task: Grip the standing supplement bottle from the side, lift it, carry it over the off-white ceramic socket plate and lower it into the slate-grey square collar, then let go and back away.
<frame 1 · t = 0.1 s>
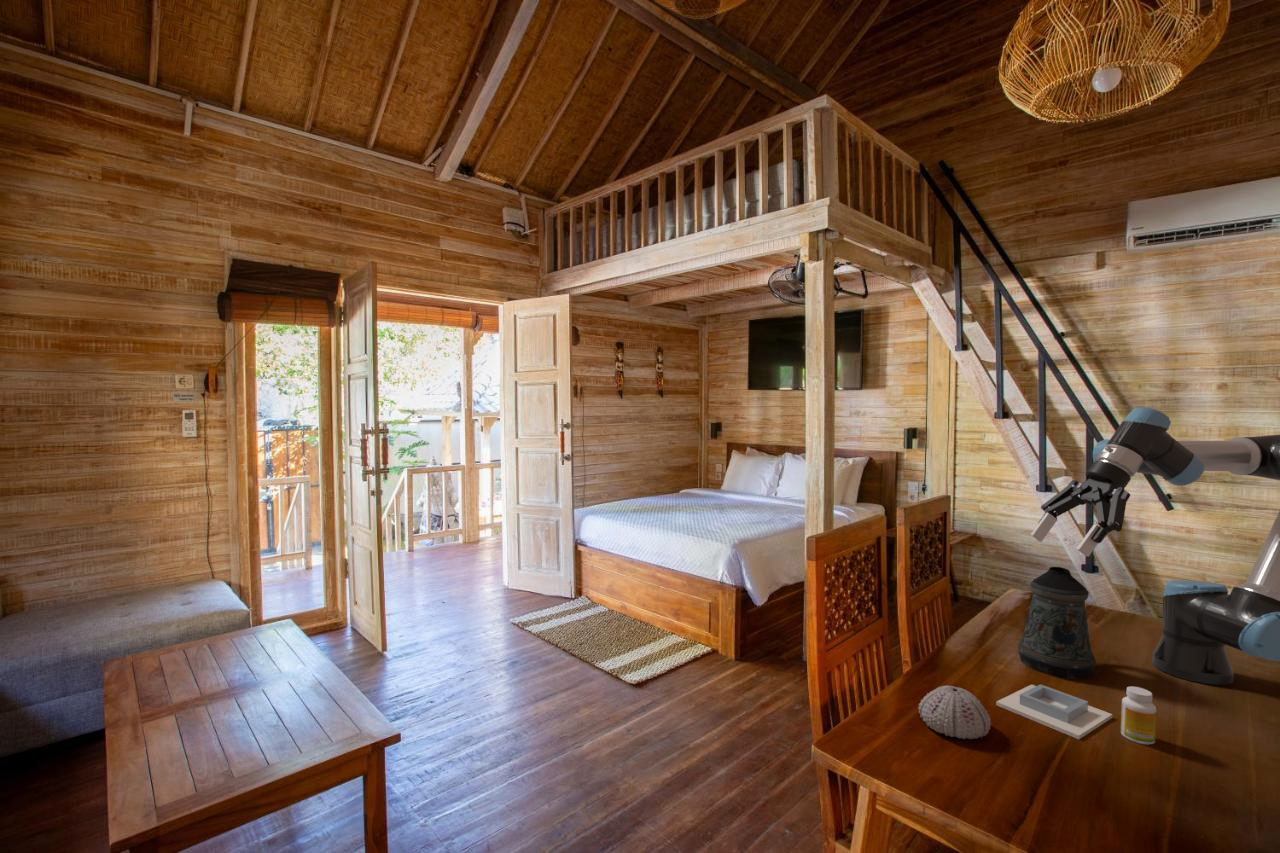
hand: (1057, 545, 134), 36 cm above the table, tool tilted 35°, fingers open, 13 cm apart
sea urchin shell: (953, 728, 124), on the table
supplement bottle: (1137, 739, 120), on the table
socket: (1053, 711, 131), on the table
beer stein: (1052, 663, 156), on the table
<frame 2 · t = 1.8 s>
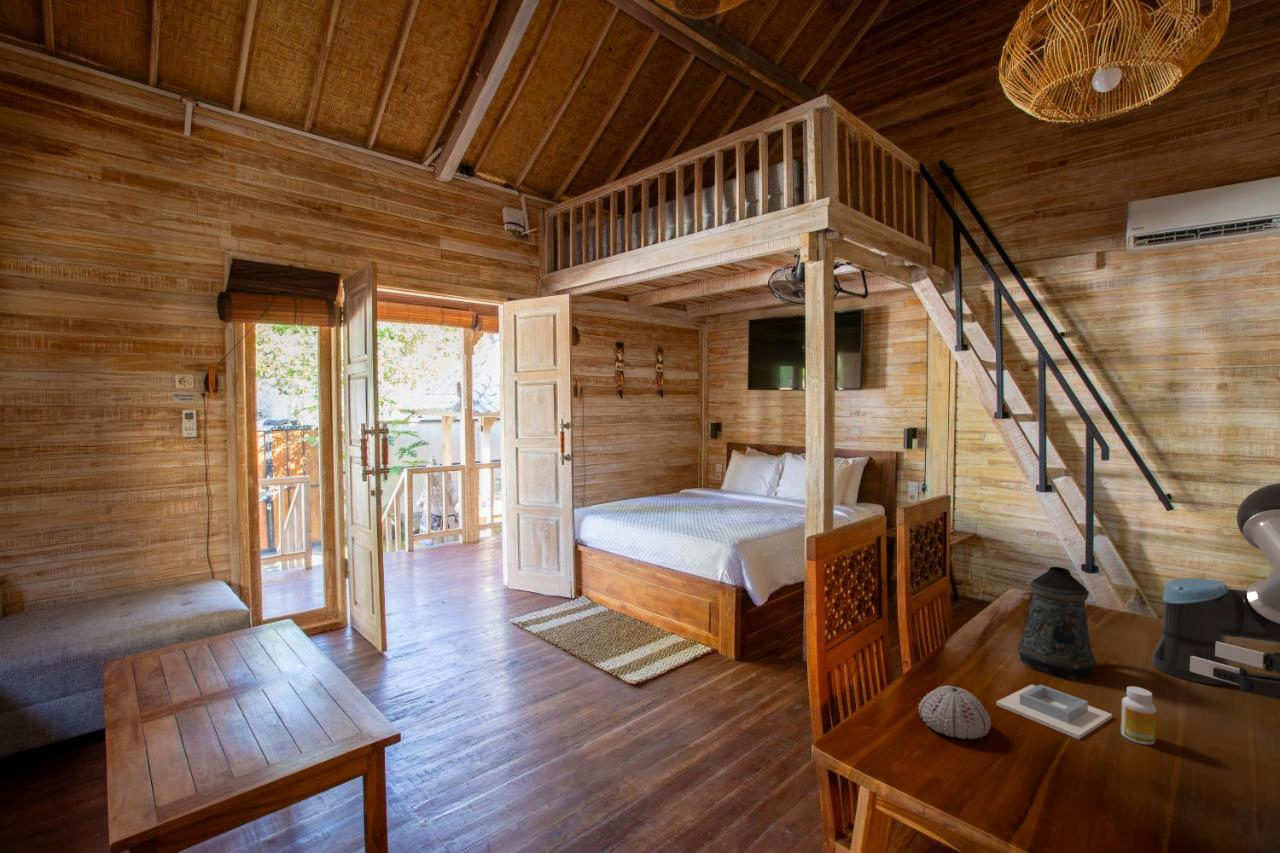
hand: (1203, 655, 112), 20 cm above the table, tool horizontal, fingers open, 13 cm apart
nothing on the table moved.
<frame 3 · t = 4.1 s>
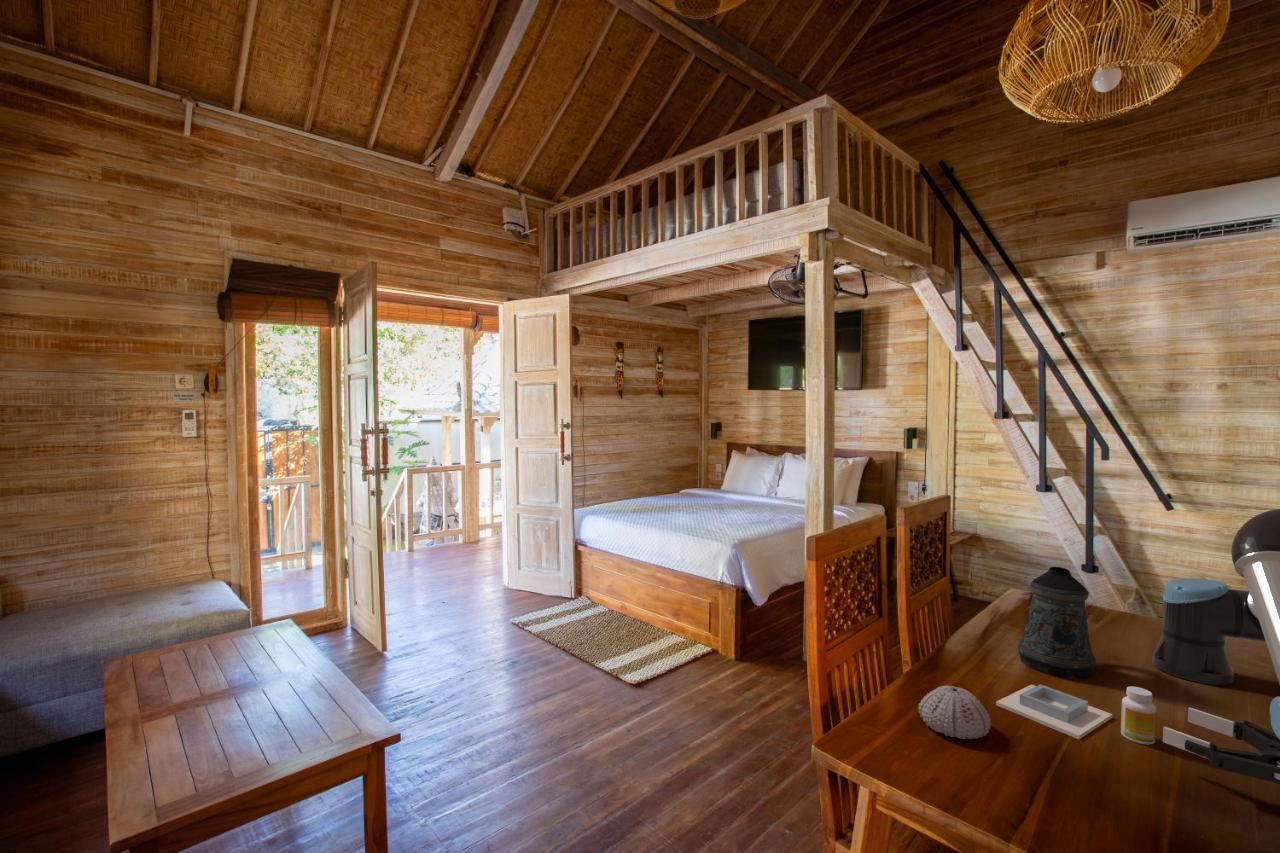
hand: (1176, 723, 115), 6 cm above the table, tool horizontal, fingers open, 13 cm apart
nothing on the table moved.
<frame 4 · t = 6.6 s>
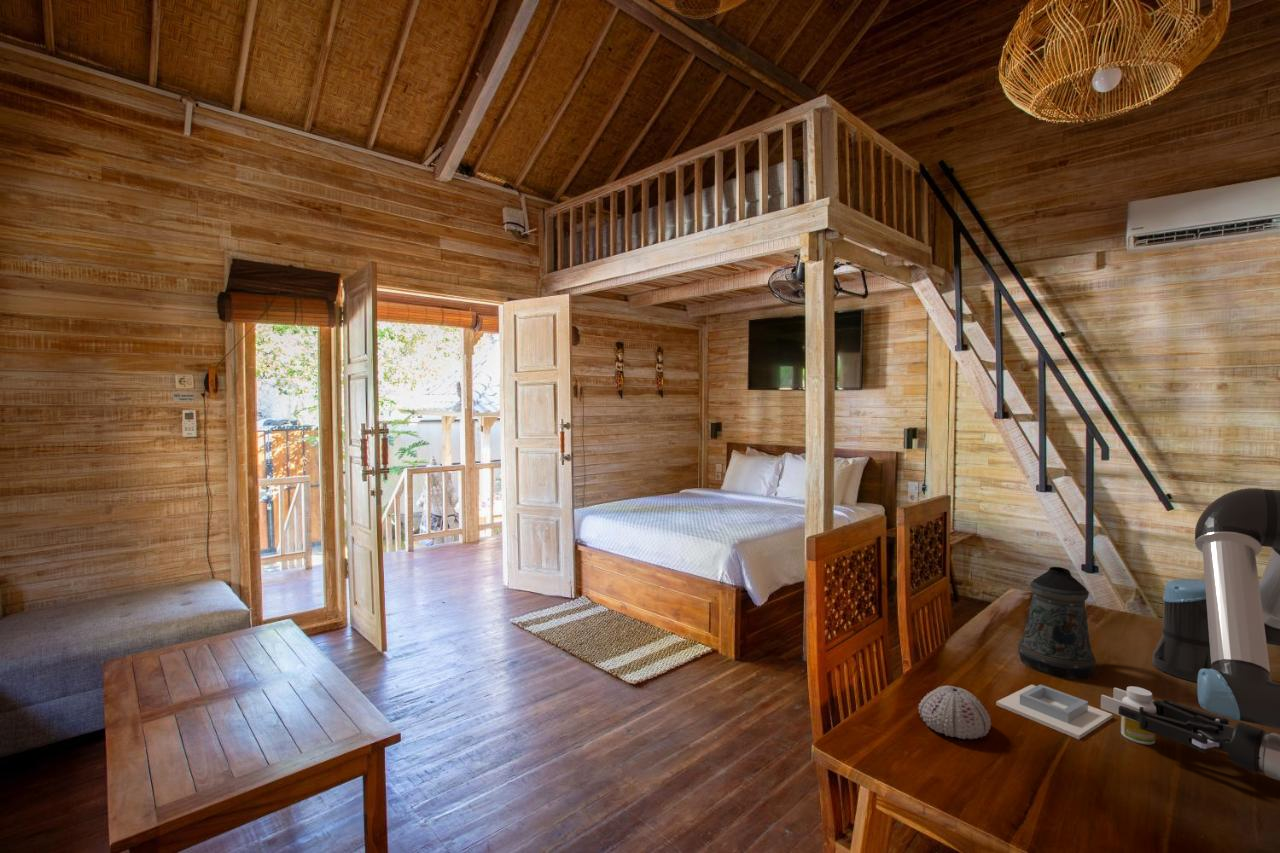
hand: (1108, 697, 125), 6 cm above the table, tool horizontal, fingers closed on supplement bottle, 5 cm apart
supplement bottle: (1137, 738, 120), on the table, touching gripper
everything else where it was.
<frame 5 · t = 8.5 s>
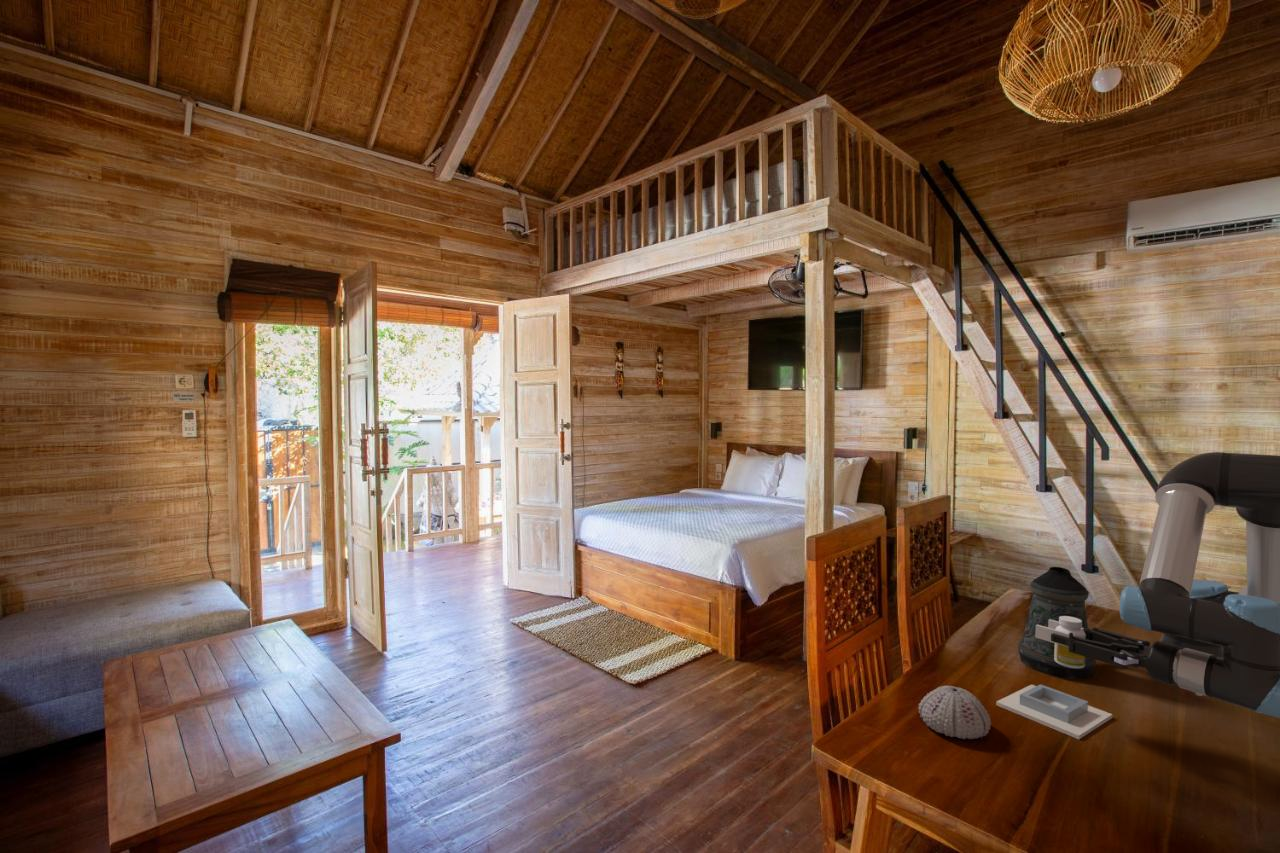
hand: (1042, 628, 132), 18 cm above the table, tool horizontal, fingers closed on supplement bottle, 5 cm apart
supplement bottle: (1069, 664, 128), point 12 cm above the table, touching gripper
everything else where it was.
when the fingers open (8 cm above the table, at t = 10.8 s): supplement bottle drops 1 cm, resting on socket.
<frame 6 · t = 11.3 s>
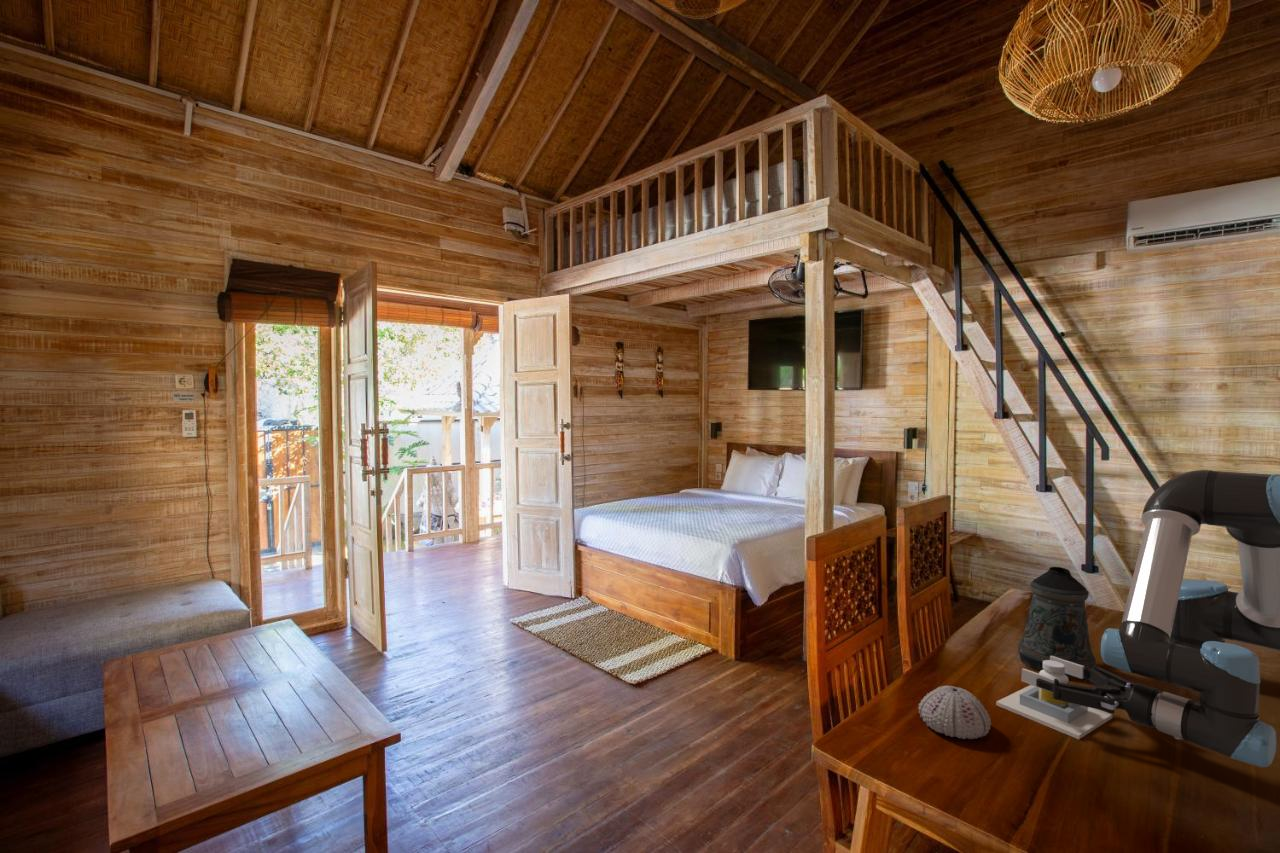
hand: (1036, 668, 133), 8 cm above the table, tool horizontal, fingers open, 12 cm apart
supplement bottle: (1053, 708, 131), point 1 cm above the table, touching socket
everything else where it was.
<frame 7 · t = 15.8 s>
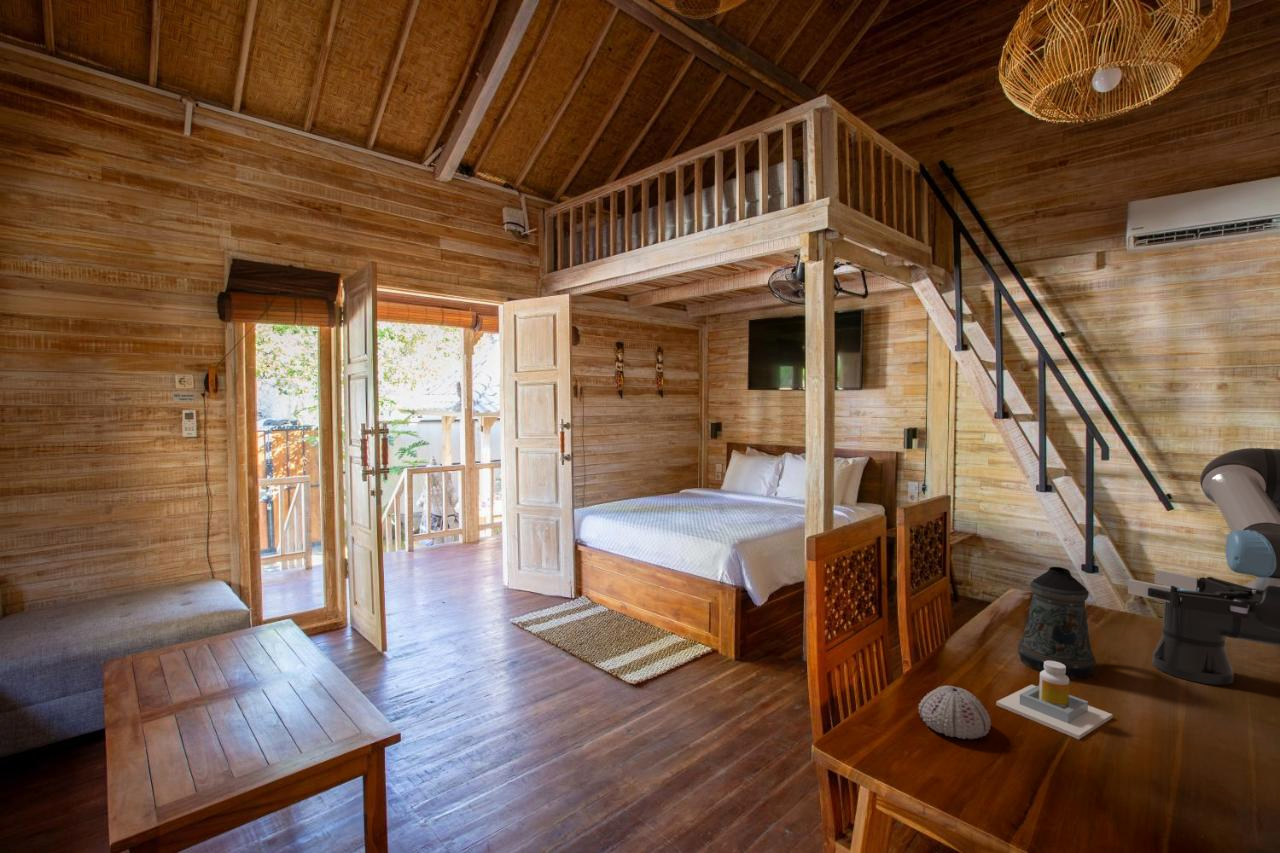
hand: (1142, 581, 120), 32 cm above the table, tool horizontal, fingers open, 13 cm apart
nothing on the table moved.
at the end: supplement bottle 0.0 cm off-centre on the socket, point 0.6 cm above the socket's base; supplement bottle tilted 0°; the gripper is holding nothing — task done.
